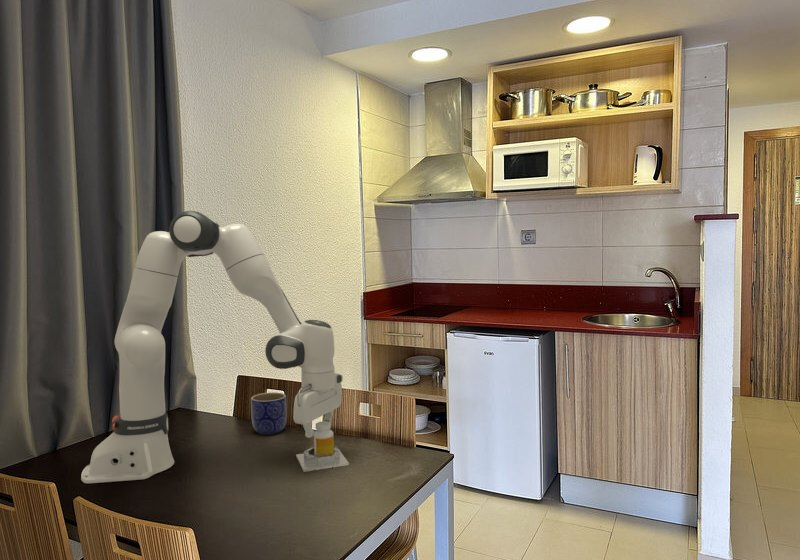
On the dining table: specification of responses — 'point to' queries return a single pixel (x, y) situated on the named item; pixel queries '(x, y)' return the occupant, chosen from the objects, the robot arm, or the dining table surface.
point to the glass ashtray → (321, 460)
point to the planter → (268, 412)
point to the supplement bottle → (323, 439)
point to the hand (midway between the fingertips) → (318, 431)
